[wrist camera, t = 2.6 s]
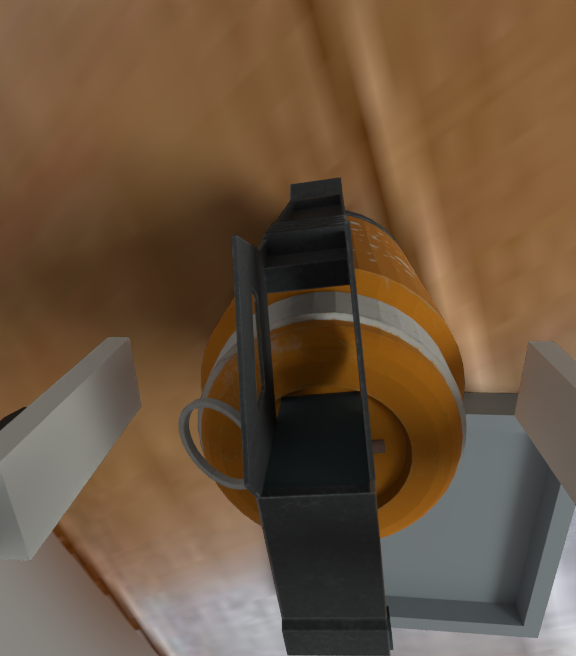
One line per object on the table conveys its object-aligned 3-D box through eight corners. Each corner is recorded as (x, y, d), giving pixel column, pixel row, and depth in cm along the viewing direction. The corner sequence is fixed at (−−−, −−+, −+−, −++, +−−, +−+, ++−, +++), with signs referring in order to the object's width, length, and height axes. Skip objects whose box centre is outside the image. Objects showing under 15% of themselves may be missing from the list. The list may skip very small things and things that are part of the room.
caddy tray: (302, 388, 30) (300, 409, 28) (578, 395, 28) (600, 417, 26) (306, 591, 38) (304, 621, 35) (524, 606, 36) (537, 638, 34)
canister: (269, 357, 29) (162, 722, 11) (238, 180, 25) (-14, 295, 7) (410, 344, 28) (554, 733, 10) (401, 157, 24) (623, 220, 6)
